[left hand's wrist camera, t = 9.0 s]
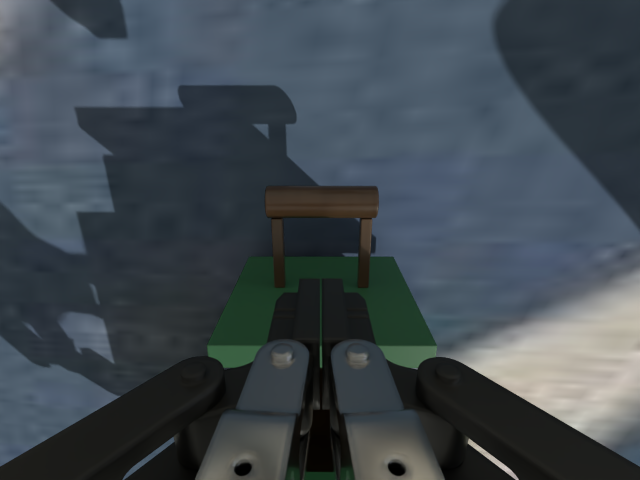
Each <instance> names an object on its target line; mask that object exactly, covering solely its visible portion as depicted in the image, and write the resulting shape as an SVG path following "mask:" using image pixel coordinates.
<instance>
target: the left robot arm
mask: <svg viewBox="0 0 640 480" xmlns="http://www.w3.org/2000/svg"><path fill="white" fill-rule="evenodd" d="M322 409H330V442H331V451H332V459H333V468H334V477H335V480H515V479H514V478H513V477H511V476H510V475H509V474H507V473H506V472H505V471H503V470H502V469H501V468H499V467H498V466H497V465H495V464H494V463H493V462H491V461H490V460H489V459H487V458H486V457H485V456H484V455H482V454H481V453H480V452H478V451H477V450H476V449H474V448H473V447H472V446H470V445H469V444H468V439H471V440H472V441H473V442H475V443H476V444H477V445H479V446H480V447H481V448H483V449H484V450H486V451H487V452H488V453H490V454H491V455H492V456H494V457H495V458H496V459H498V460H499V461H500V462H502V463H503V464H504V465H506V466H507V467H508V468H509V469H511V470H512V471H513V472H514V474H515V475H516V476H517V477H518V479H519V480H640V467H639V466H638V465H636V464H634V463H632V462H631V461H629V460H627V459H626V458H624V457H622V456H620V455H619V454H617V453H615V452H614V451H612V450H610V449H608V448H607V447H605V446H603V445H602V444H600V443H598V442H596V441H595V440H593V439H591V438H590V437H588V436H586V435H584V434H583V433H581V432H579V431H577V430H576V429H574V428H572V427H571V426H569V425H567V424H565V423H564V422H562V421H560V420H559V419H557V418H555V417H553V416H552V415H550V414H548V413H547V412H545V411H543V410H541V409H540V408H538V407H536V406H535V405H533V404H531V403H529V402H528V401H526V400H524V399H523V398H521V397H519V396H517V395H516V394H514V393H512V392H511V391H509V390H507V389H505V388H504V387H502V386H500V385H499V384H497V383H495V382H493V381H492V380H490V379H488V378H487V377H485V376H483V375H481V374H480V373H478V372H476V371H475V370H473V369H471V368H469V367H468V366H466V365H464V364H462V363H461V362H458V361H456V360H453V359H450V358H445V357H433V358H428V359H426V360H424V361H423V362H421V363H420V365H419V367H418V370H416V369H412V368H408V367H403V366H400V365H397V364H394V363H392V362H390V361H389V360H387V359H386V358H385V355H384V353H383V351H382V350H381V349H380V348H379V347H378V346H377V345H376V342H375V338H374V334H373V329H372V325H371V321H370V318H369V313H368V308H367V304H366V300H365V299H364V298H363V297H362V296H361V295H360V294H359V293H358V292H344V287H343V280H342V278H322ZM313 410H320V279H299V286H298V292H284V293H283V294H282V295H281V296H280V297H279V298H278V299H277V300H276V304H275V308H274V313H273V318H272V321H271V326H270V330H269V335H268V339H267V343H266V344H265V345H263V346H262V347H261V348H260V349H259V350H258V351H257V353H256V355H255V358H254V361H252V362H250V363H248V364H246V365H243V366H240V367H235V368H231V369H227V370H224V368H223V365H222V364H221V362H220V361H219V360H217V359H215V358H212V357H207V356H199V357H192V358H189V359H186V360H183V361H181V362H179V363H177V364H176V365H174V366H172V367H171V368H169V369H167V370H165V371H164V372H162V373H160V374H159V375H157V376H155V377H153V378H152V379H150V380H148V381H147V382H145V383H143V384H141V385H140V386H138V387H136V388H135V389H133V390H131V391H129V392H128V393H126V394H124V395H123V396H121V397H119V398H117V399H116V400H114V401H112V402H111V403H109V404H107V405H105V406H104V407H102V408H100V409H99V410H97V411H95V412H93V413H92V414H90V415H88V416H87V417H85V418H83V419H81V420H80V421H78V422H76V423H75V424H73V425H71V426H69V427H68V428H66V429H64V430H63V431H61V432H59V433H57V434H56V435H54V436H52V437H51V438H49V439H47V440H45V441H44V442H42V443H40V444H39V445H37V446H35V447H33V448H32V449H30V450H28V451H27V452H25V453H23V454H21V455H20V456H18V457H16V458H14V459H13V460H11V461H9V462H8V463H6V464H4V465H2V466H1V467H0V480H122V479H123V477H124V476H125V475H126V473H127V472H128V471H129V470H130V469H131V468H132V467H133V466H134V465H136V464H137V463H138V462H140V461H141V460H142V459H144V458H145V457H146V456H148V455H149V454H150V453H152V452H153V451H154V450H156V449H157V448H159V447H160V446H161V445H163V444H164V443H165V442H167V441H168V440H169V439H171V438H172V437H173V436H174V441H175V442H174V443H172V444H171V445H170V446H168V447H167V448H166V449H164V450H163V451H162V452H160V453H159V454H158V455H156V456H155V457H154V458H153V459H151V460H150V461H149V462H147V463H146V464H145V465H143V466H142V467H141V468H139V469H138V470H137V471H135V472H134V473H133V474H131V475H130V476H129V477H127V478H126V479H125V480H305V477H306V468H307V459H308V451H309V442H310V428H311V425H312V420H313Z"/></svg>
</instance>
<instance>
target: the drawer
mask: <svg viewBox="0 0 640 480" xmlns="http://www.w3.org/2000/svg"><path fill="white" fill-rule="evenodd" d="M378 207H379V194H378V188H377V186H267V187H266V190H265V212H266V216H267V217H268V218H272V219H271V227H272V247H273V257H249V258H248V260H247V262H246V264H245V267H244V269H243V271H242V273H241V275H240V277H239V279H238V281H237V283H236V285H235V288H234V290H233V292H232V294H231V296H230V298H229V300H228V302H227V304H226V306H225V308H224V311H223V313H222V315H221V317H220V319H219V321H218V323H217V325H216V327H215V329H214V332H213V334H212V336H211V338H210V340H209V342H208V344H207V351H208V357H212V358H215V359H217V360H219V361H220V362H221V364H222V365H223V368H235V367H240V366H243V365H246V364H248V363H250V362H252V361H254V358H255V355H256V353H257V351H258V350H259V349H260V348H261V347H262V346H263V345H265V344H266V343H267V339H268V335H269V330H270V326H271V321H272V318H273V313H274V308H275V304H276V300H277V299H278V298H279V297H280V296H281V295H282V294H283V293H284V292H298V286H299V279H320V410H313V420H312V425H311V428H310V442H309V451H308V459H307V468H306V472H334V468H333V459H332V451H331V442H330V409H322V278H342V280H343V287H344V292H358V293H359V294H360V295H361V296H362V297H363V298H364V299H365V300H366V304H367V308H368V313H369V318H370V321H371V325H372V329H373V334H374V338H375V342H376V345H377V346H378V347H379V348H380V349H381V350H382V351H383V353H384V355H385V358H386V359H387V360H389V361H390V362H392V363H394V364H397V365H400V366H403V367H408V368H418V367H419V365H420V363H421V362H423V361H424V360H426V359H428V358H433V357H436V350H437V345H436V343H435V341H434V339H433V337H432V334H431V332H430V330H429V328H428V326H427V324H426V322H425V320H424V318H423V316H422V314H421V312H420V310H419V308H418V306H417V304H416V302H415V300H414V298H413V296H412V294H411V292H410V290H409V288H408V286H407V284H406V282H405V280H404V278H403V276H402V274H401V272H400V270H399V268H398V266H397V264H396V261H395V259H394V257H370V251H371V234H372V218H376V217H377V214H378ZM283 218H360V225H359V249H358V257H285V247H284V220H283Z"/></svg>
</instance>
